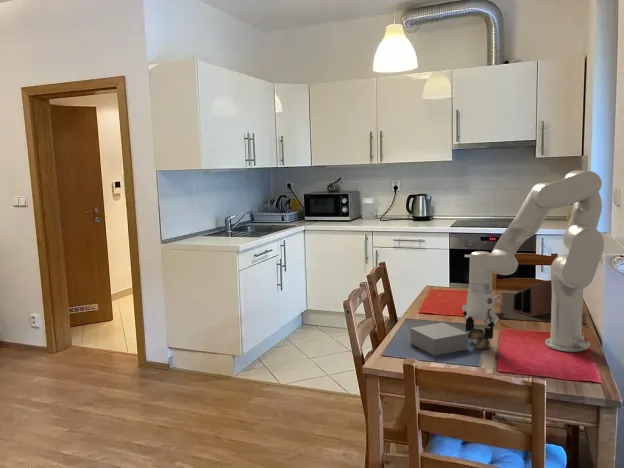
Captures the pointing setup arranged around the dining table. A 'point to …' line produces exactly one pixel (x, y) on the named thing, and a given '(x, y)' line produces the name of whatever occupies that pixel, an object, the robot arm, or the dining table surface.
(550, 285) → the letter holder
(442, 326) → the gray block
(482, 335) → the eagle figurine
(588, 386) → the dining table surface
